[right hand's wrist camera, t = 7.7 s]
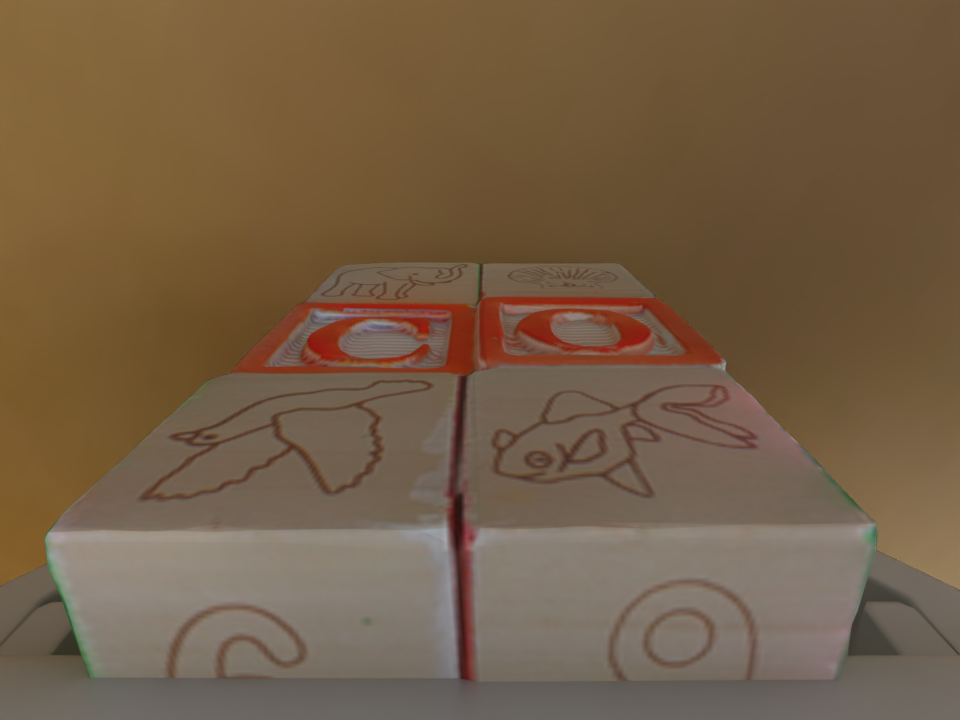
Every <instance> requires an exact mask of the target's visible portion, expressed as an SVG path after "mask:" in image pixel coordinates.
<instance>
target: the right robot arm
mask: <svg viewBox="0 0 960 720" xmlns="http://www.w3.org/2000/svg"><path fill="white" fill-rule="evenodd" d="M0 720H960V590H959V589H957V588H955V587H953V586H950V585H948V584H946V583H944V582H942V581H940V580H938V579H936V578H934V577H932V576H930V575H927V574H925V573H923V572H921V571H919V570H917V569H915V568H913V567H911V566H909V565H907V564H905V563H902V562H900V561H898V560H896V559H894V558H892V557H890V556H888V555H886V554H884V553H882V552H880V551H877V550H876V553H875V557H874V560H873V563H872V566H871V569H870V572H869V575H868V578H867V581H866V585H865V588H864V591H863V595H862V598H861V601H860V605H859V608H858V611H857V614H856V616H855V618H854V620H853V623H852V626H851V633H850V640H849V647H848V654H847V657H846V660H845V663H844V665H843V668H842V670H841V673H840V675H839V678H838V680H693V681H572V682H476V681H471V680H465V679H460V678H90V677H89V676H88V673H87V670H86V667H85V665H84V662H83V659H82V656H81V654H80V651H79V648H78V645H77V642H76V639H75V637H74V634H73V631H72V628H71V625H70V622H69V619H68V616H67V614H66V611H65V608H64V605H63V602H62V599H61V596H60V594H59V592H58V590H57V587H56V585H55V583H54V581H53V579H52V577H51V574H50V572H49V570H48V565H47V564H45V565H43V566H41V567H39V568H37V569H35V570H33V571H31V572H28V573H26V574H24V575H22V576H20V577H18V578H16V579H14V580H12V581H9V582H7V583H5V584H3V585H1V586H0Z"/></svg>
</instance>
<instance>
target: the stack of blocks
mask: <svg viewBox="0 0 960 720" xmlns="http://www.w3.org/2000/svg"><path fill="white" fill-rule="evenodd" d="M725 368H726V361H725V360H724V358H723V357H722V356H721V355H720V354H719V353H718V352H717V351H716V350H715V349H714V348H713V347H712V346H711V345H710V344H709V343H708V342H707V341H706V340H705V339H704V338H703V337H701V336H700V335H699V334H698V333H697V332H696V331H695V330H694V329H693V328H692V327H691V326H690V325H689V324H688V323H687V322H686V321H684V320H683V319H682V318H681V317H680V316H679V315H678V314H677V313H675V312H674V311H673V310H672V309H671V308H670V307H669V306H668V305H667V304H666V303H665V302H663V301H661V300H659V299H656V296H655V294H653V293H652V292H651V291H650V290H649V289H648V288H646V287H645V286H644V285H643V284H642V283H641V282H640V281H639V280H638V279H637V278H635V277H634V276H633V275H632V274H631V273H629V272H628V271H627V270H626V269H625V268H624V267H623V266H622V265H620V264H617V263H555V264H528V263H492V264H476V263H449V262H406V263H369V264H354V265H345V266H342V267H339V268H337V269H336V270H335V271H334V272H333V273H332V274H331V275H329V276H328V277H327V278H326V279H325V280H324V281H323V282H322V283H321V284H320V285H319V287H318V288H317V289H316V290H315V291H314V292H313V293H312V294H311V295H310V297H309V298H308V299H307V300H306V301H305V302H303V303H301V304H298V305H296V306H295V307H293V308H292V309H291V310H290V311H289V313H288V314H287V315H286V316H285V317H284V318H282V319H281V320H280V321H279V322H278V323H277V324H276V325H275V326H274V327H273V328H272V329H271V331H270V332H268V333H267V334H266V335H265V336H264V337H263V338H262V339H261V340H260V341H259V342H258V343H257V344H256V345H255V346H253V347H252V349H251V350H250V351H249V352H248V353H247V354H246V355H245V356H244V357H243V359H242V360H241V361H240V362H239V363H238V364H237V365H236V366H235V367H234V369H233V370H232V372H231V373H230V374H226V375H221V376H217V377H215V378H213V379H210V380H208V381H206V382H205V383H204V384H203V385H202V386H201V387H200V388H199V389H198V390H197V391H196V392H195V393H194V394H193V395H192V396H190V397H189V398H188V399H187V400H186V401H185V402H183V403H182V404H181V405H180V406H179V407H178V408H177V409H176V410H175V411H174V412H173V413H172V414H171V415H170V416H169V417H168V418H166V419H165V420H164V421H163V422H162V423H161V424H160V425H159V426H157V427H156V428H155V429H154V430H153V431H152V432H151V433H149V434H148V435H147V436H146V437H145V438H144V439H143V440H142V441H141V442H140V443H139V444H138V445H137V446H135V447H134V448H133V449H132V450H131V451H130V452H129V453H128V454H127V455H126V456H125V457H124V458H123V459H122V460H121V461H120V462H119V463H117V464H116V465H115V466H114V467H113V468H112V469H111V470H110V471H109V472H107V473H106V474H105V475H104V476H103V477H102V478H101V479H100V480H99V481H97V482H96V483H95V484H94V485H93V486H92V487H91V488H90V489H89V490H87V491H86V492H85V493H84V494H83V495H82V496H81V497H80V498H79V499H78V500H76V501H75V502H74V503H73V504H72V505H71V506H70V507H69V508H68V509H67V510H66V511H65V512H64V513H63V514H62V515H61V517H60V518H59V519H58V520H57V521H56V523H55V524H54V525H53V526H52V527H51V528H50V530H49V531H48V532H47V533H46V538H45V547H46V556H47V565H48V570H49V572H50V574H51V577H52V579H53V581H54V583H55V585H56V587H57V590H58V592H59V594H60V596H61V599H62V602H63V605H64V608H65V611H66V614H67V616H68V619H69V622H70V625H71V628H72V631H73V634H74V637H75V639H76V642H77V645H78V648H79V651H80V654H81V656H82V659H83V662H84V665H85V667H86V670H87V673H88V676H89V677H90V678H460V679H465V680H471V681H476V682H572V681H693V680H838V678H839V675H840V673H841V670H842V668H843V665H844V663H845V660H846V657H847V654H848V647H849V640H850V633H851V626H852V623H853V620H854V618H855V616H856V614H857V611H858V608H859V605H860V601H861V598H862V595H863V591H864V588H865V585H866V581H867V578H868V575H869V572H870V569H871V566H872V563H873V560H874V557H875V553H876V545H877V526H876V523H875V522H874V521H873V520H872V519H871V518H870V517H869V516H868V515H867V514H866V513H865V512H864V511H863V510H862V509H861V508H860V507H859V506H858V505H857V504H856V503H855V502H854V501H853V500H852V498H851V497H850V496H849V495H848V494H847V493H846V492H845V491H844V490H843V489H842V488H841V487H840V486H839V485H838V484H837V483H836V481H835V480H834V479H833V478H832V477H831V476H830V475H829V474H828V473H827V472H826V471H825V470H824V469H823V468H822V466H821V465H820V464H819V463H818V462H817V461H816V460H815V459H814V458H813V457H812V456H811V455H810V454H809V453H808V452H807V451H806V450H805V449H804V448H803V447H802V446H801V445H800V444H799V443H798V442H797V441H796V440H795V439H794V438H793V437H792V436H791V435H790V434H789V433H788V432H787V431H786V430H784V429H783V428H782V427H781V426H780V425H779V424H778V423H777V422H776V421H775V420H774V419H773V418H772V417H771V416H770V415H769V414H768V413H767V412H766V411H765V410H764V409H763V407H762V406H761V405H760V404H759V403H758V402H757V401H756V400H755V398H754V397H753V396H752V395H751V394H750V393H749V392H747V391H746V390H745V389H744V388H743V387H742V386H741V385H740V384H738V383H737V382H736V381H735V380H734V379H733V378H732V376H731V375H730V374H728V373H727V372H726V371H725Z"/></svg>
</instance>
